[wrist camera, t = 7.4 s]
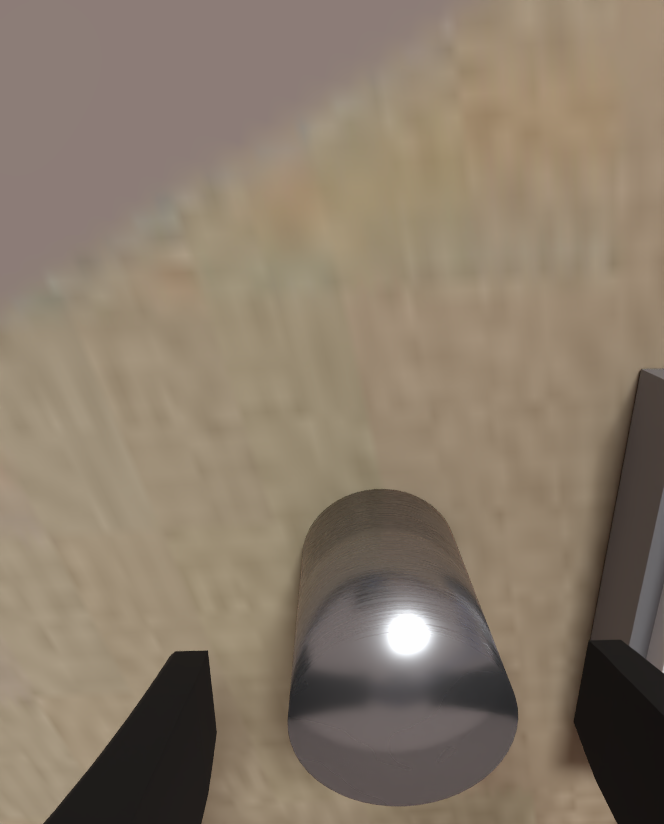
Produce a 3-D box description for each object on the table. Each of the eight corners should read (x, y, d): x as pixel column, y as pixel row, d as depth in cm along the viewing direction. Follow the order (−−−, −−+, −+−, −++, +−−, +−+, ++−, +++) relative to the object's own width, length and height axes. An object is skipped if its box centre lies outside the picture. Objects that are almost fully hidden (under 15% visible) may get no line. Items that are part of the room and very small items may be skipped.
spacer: (465, 493, 14) (537, 638, 9) (445, 623, 15) (498, 810, 10) (305, 485, 13) (291, 627, 9) (299, 617, 15) (284, 801, 10)
